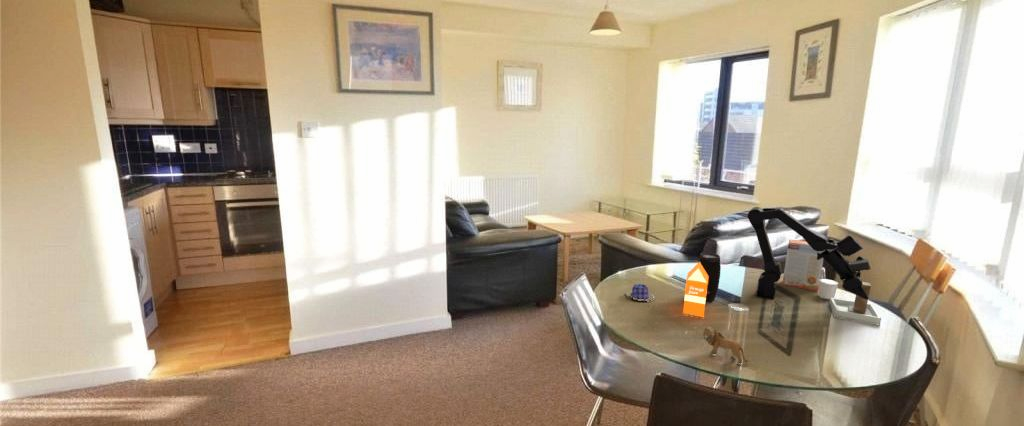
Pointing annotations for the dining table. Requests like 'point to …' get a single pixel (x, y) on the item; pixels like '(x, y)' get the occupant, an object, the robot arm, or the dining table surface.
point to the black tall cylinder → (711, 273)
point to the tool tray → (843, 312)
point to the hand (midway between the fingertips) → (866, 295)
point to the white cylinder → (827, 288)
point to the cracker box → (802, 266)
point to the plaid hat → (640, 292)
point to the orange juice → (696, 291)
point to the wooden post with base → (861, 301)
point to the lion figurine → (722, 343)
